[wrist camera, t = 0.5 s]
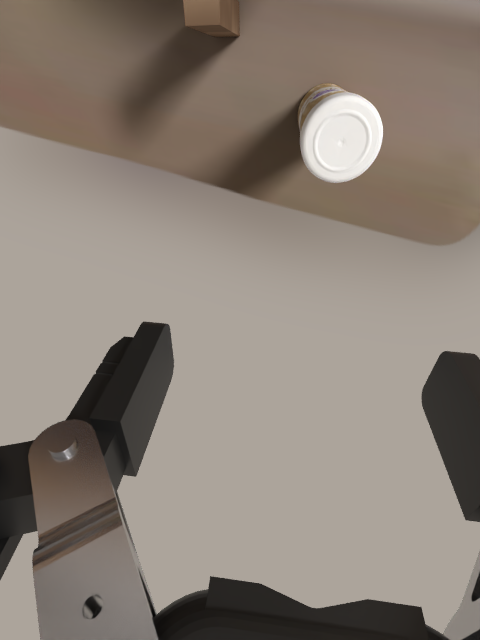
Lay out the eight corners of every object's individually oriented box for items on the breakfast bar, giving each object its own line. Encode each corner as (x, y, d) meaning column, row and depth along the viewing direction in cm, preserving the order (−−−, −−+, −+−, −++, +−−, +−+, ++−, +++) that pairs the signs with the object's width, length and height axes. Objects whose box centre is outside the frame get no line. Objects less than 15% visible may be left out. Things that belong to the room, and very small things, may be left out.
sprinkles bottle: (336, 70, 28) (364, 73, 18) (359, 123, 30) (397, 155, 20) (286, 106, 30) (285, 129, 20) (311, 154, 32) (322, 199, 22)
